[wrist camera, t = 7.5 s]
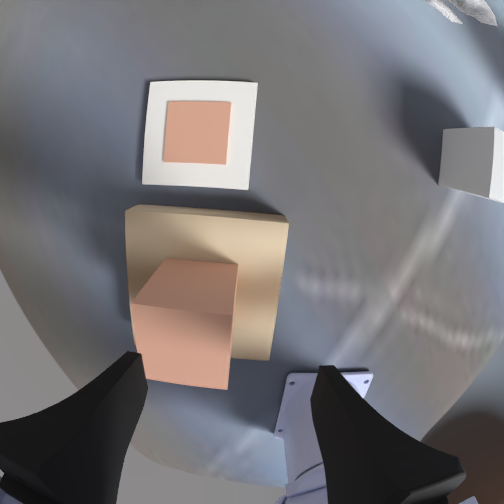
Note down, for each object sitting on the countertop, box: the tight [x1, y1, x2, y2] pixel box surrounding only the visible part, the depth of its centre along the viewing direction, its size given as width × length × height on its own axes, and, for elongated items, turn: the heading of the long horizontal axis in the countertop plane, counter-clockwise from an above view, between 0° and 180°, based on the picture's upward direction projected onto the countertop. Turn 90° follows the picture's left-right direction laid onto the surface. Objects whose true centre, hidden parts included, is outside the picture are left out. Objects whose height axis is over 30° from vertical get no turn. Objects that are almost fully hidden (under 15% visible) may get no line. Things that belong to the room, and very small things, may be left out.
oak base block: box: [125, 204, 289, 361], centre depth 20 cm, size 10×10×3 cm
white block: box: [438, 127, 504, 203], centre depth 15 cm, size 4×4×6 cm
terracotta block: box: [131, 258, 238, 390], centre depth 16 cm, size 4×4×6 cm
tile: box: [142, 80, 258, 190], centre depth 17 cm, size 7×7×1 cm
